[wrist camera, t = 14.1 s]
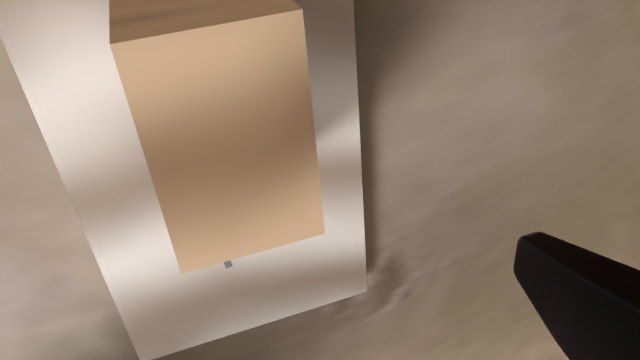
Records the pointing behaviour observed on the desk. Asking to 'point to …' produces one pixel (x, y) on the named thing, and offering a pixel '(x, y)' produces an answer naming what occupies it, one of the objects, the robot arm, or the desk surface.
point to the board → (140, 196)
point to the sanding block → (222, 121)
